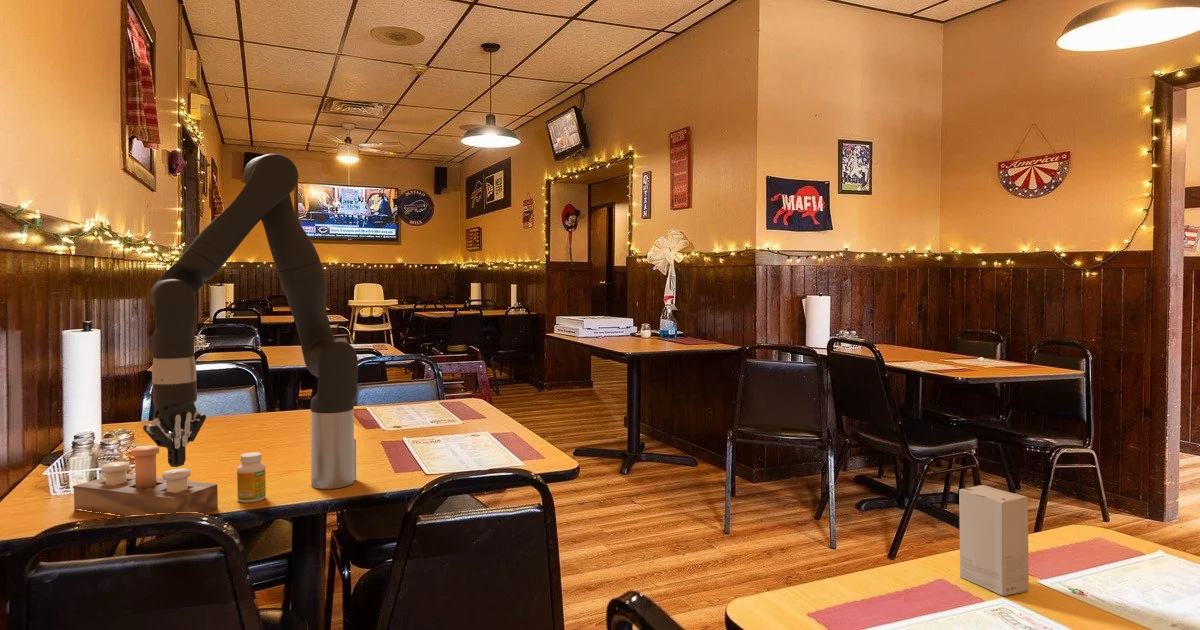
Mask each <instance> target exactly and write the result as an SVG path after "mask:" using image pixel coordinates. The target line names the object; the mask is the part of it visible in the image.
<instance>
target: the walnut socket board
mask: <svg viewBox="0 0 1200 630" xmlns="http://www.w3.org/2000/svg"><path fill="white" fill-rule="evenodd" d="M126 474H127V482H124V483H121V484H117V485H107V484H105V476H104V477H102V478H101V477H100V478H98V479H94V480H90V481H87V482H83V483H80V484H75V485H73V504H74V509H82V510H87V511H92V512H99V513H100V512H101V513H111V514H115V515H120V516H131V515H145V514H157V513H176V512H198V513H204V514H206V513H210V512H212V511H215V510H217V509H218V507H219V504H218V500H219V498H218V484H217V483H212V482H211V483H209V482H201V481H192V480H187V486H188V489H187V490H184V491H181V492H178V493H172V492H167V488H166V480H165V479H163V477H157V476H156V480H157V485H156V486H153V487H150V488H147V489H139V488H136V486H135V474H131V473H126ZM74 509H73V510H74ZM214 509H215V510H214ZM211 510H212V511H211Z"/></svg>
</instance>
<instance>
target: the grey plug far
mask: <svg viewBox="0 0 1200 630" xmlns="http://www.w3.org/2000/svg"><path fill="white" fill-rule="evenodd" d="M130 469H131V464H130V462H129V461H114V462H110V463H109V462H108V463H104V464H103V465H101V473H104V474H105V475H104V477H105V484H107V485H117V484H121V483H124V482H127V474H128V473H127V470H130Z"/></svg>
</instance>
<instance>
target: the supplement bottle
mask: <svg viewBox="0 0 1200 630" xmlns="http://www.w3.org/2000/svg"><path fill="white" fill-rule="evenodd" d="M239 460H240V463H241V464H239V465H238V466H237V468H236V480H237V481H236V482H237V487H236V490H237V491H236V492H237V493H236V494H237V501H238V502H240V503H242V502H243V504H247V503H248V504H249V503H255V502H256V503H257V502H260V501H262V500H265V498H266V492H267V490H266V488H267V487H266V485H267V484H266V465H265V463H263V462H262V453H261V452H252V451H251V452H246V453H245V452H244V453H242V454H241V455H240V459H239Z"/></svg>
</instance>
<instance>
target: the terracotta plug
mask: <svg viewBox="0 0 1200 630" xmlns="http://www.w3.org/2000/svg"><path fill="white" fill-rule="evenodd" d="M130 453H131V454H130V456H132V457H134V475H135V486H136V488H139V489H147V488H150V487H153V486H156V485H157V480H156V477H157V454H159V453H160V447H159V446H158V445H144V446H138V447H133V448H132V449H131V450H130Z"/></svg>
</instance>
